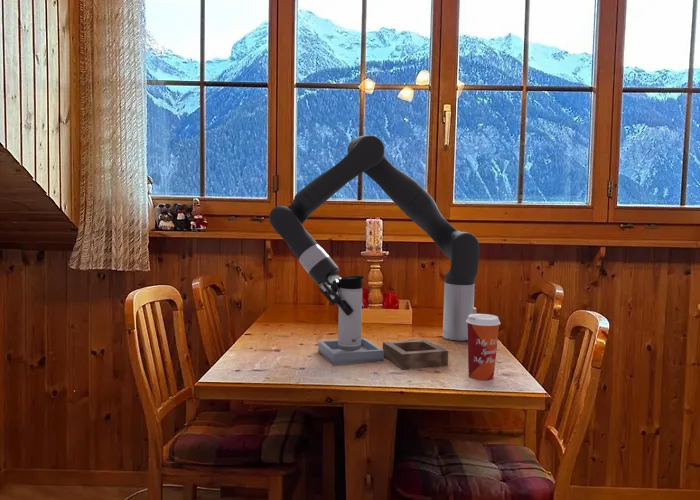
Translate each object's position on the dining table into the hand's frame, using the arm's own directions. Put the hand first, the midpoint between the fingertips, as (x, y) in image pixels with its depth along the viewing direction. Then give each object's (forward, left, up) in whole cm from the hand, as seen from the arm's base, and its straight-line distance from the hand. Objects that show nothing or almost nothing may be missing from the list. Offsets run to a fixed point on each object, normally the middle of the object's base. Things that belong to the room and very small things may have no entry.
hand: (356, 311), depth 161 cm
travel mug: (+1, -1, -11) cm, 11 cm away
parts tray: (+1, -1, -13) cm, 13 cm away
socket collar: (-14, +8, -13) cm, 20 cm away
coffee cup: (-24, +25, -13) cm, 37 cm away
